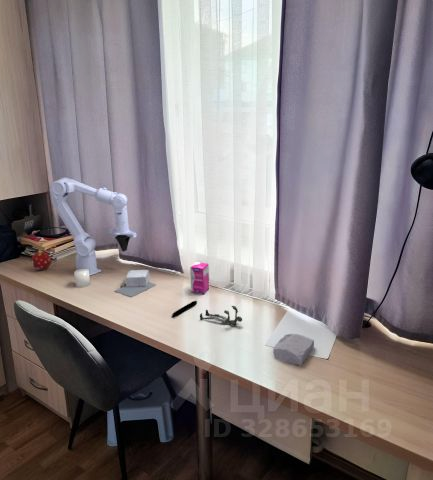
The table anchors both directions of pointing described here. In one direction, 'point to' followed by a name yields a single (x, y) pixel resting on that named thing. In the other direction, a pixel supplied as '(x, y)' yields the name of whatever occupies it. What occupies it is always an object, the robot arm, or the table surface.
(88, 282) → the white round lump
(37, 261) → the christmas ornament
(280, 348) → the stone block
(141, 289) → the felt mat
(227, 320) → the zombie figurine
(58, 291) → the table surface
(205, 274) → the supplement box
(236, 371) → the table surface
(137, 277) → the medicine box
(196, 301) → the pen
